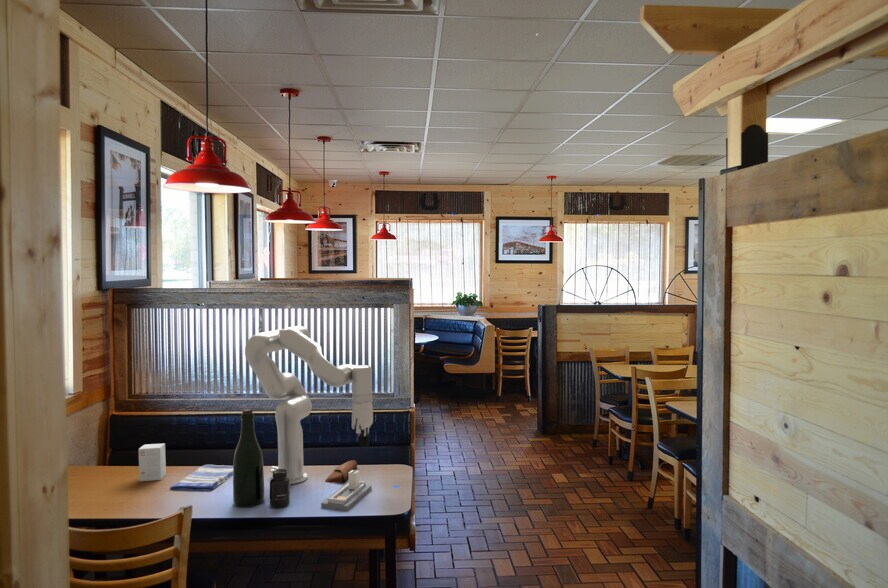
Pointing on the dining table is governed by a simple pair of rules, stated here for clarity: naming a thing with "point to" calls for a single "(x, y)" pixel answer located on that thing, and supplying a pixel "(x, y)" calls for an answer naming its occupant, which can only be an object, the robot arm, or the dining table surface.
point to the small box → (152, 462)
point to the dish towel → (205, 478)
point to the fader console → (346, 497)
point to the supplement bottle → (279, 489)
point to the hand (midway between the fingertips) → (364, 445)
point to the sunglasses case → (342, 472)
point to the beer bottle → (248, 466)
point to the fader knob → (353, 479)
